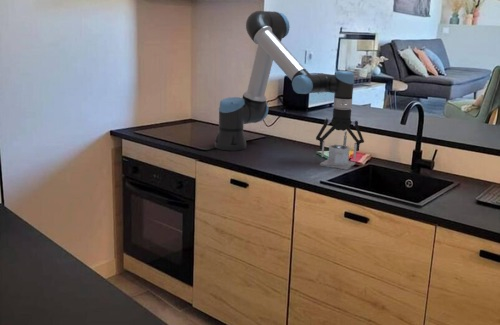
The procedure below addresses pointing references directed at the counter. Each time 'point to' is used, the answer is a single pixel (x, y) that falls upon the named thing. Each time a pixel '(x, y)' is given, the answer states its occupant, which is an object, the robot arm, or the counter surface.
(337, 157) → the grey piece
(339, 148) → the square plate with knob
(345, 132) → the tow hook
